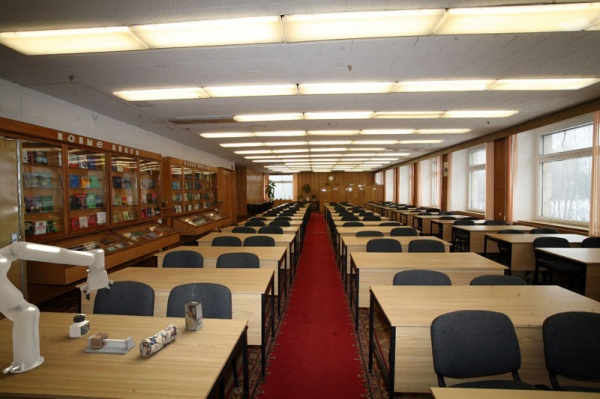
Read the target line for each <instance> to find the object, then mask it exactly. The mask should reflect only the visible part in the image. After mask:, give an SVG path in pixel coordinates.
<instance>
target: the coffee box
mask: <svg viewBox="0 0 600 399" xmlns="http://www.w3.org/2000/svg"><path fill="white" fill-rule="evenodd" d="M184 318H185V322H184V323H185V324H184V325H185V330H191V331H197V332H198V331H199V330H200V329H202V328H203V327H204V326H203V324H204V323H203V322H204V321H203V302H201V301H193V300H190V301H188V302H187V303H185V304H184Z"/></svg>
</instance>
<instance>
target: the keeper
mask: <svg viewBox="0 0 600 399" xmlns="http://www.w3.org/2000/svg"><path fill="white" fill-rule="evenodd" d="M94 335H95V336H93V337H91V336H90V337H91V348H96V349H100V348H102V347H103V346H104V345H106V344H107V343H108V342H102V339H109V333H108V332H103V331H102V332H98V333H96V334H94Z"/></svg>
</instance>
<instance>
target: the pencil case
mask: <svg viewBox="0 0 600 399" xmlns="http://www.w3.org/2000/svg"><path fill="white" fill-rule="evenodd" d="M175 324H176V323H171V324H169V325H167V326H166V327H165V328H164V329H162V330H160V331H158V332H157V333H156V334H154V335H152V336H150V337H145V338H141V342H140V343H139V347H138V350H139V354H140V355H141V357H143V358H148V357H149V356H152V355H154V354H155V353H156V352H158V351H159V350H161V349H162V348H164V347H165V346H166V345H168V344H169V343H171V342H172V341H173V340H175V339H177V337H178V335H179V329H178V326H177V325H175Z"/></svg>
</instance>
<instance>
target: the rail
mask: <svg viewBox="0 0 600 399" xmlns="http://www.w3.org/2000/svg"><path fill="white" fill-rule="evenodd" d="M95 335H96V334H92V335H91V336H89V337H87V348H85V349H84V350H83V351H84V353H92V354H111V355H113V354H114V355H126V354H127V353H128V352H130V351H131V350H132V349H133V348H134V347H136V346H137V343H134V336H128V337H127V338H126V339H116V338H115V339H114V338H113V339H112V338H111V339H110V338H108V339H102V342H108V343H107V344H106V345H104V346H103V347H102V348H100V349H96V348H91V337H93V336H95Z"/></svg>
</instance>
